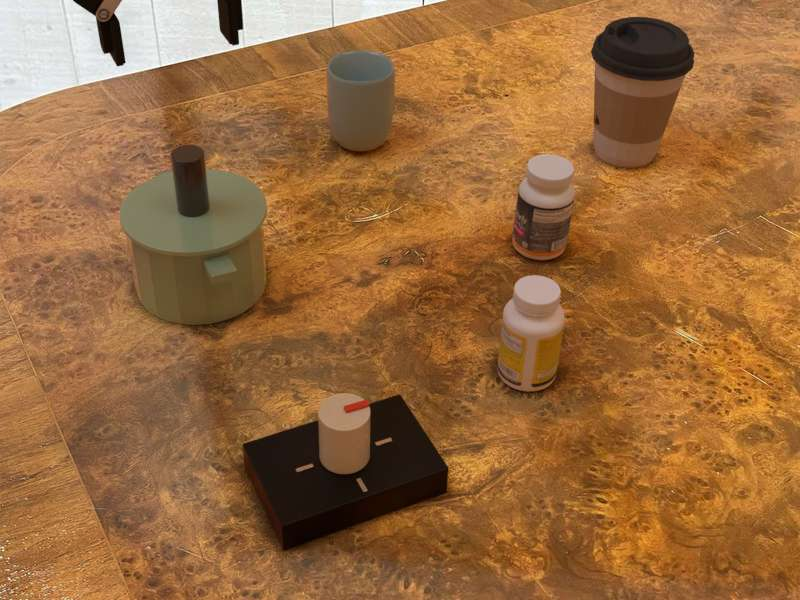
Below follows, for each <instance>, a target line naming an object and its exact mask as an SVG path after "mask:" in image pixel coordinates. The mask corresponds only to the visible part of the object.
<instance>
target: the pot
mask: <svg viewBox="0 0 800 600" xmlns="http://www.w3.org/2000/svg"><path fill="white" fill-rule="evenodd" d="M169 172H173V171H172V169H169V170H165V171H160V172H156V173H155V175H156V176H159V175H162V174H165V173H169ZM125 237H126V241H127V248H128V255H129V260H130V266H131V271H132V277H133V278H132V279H133V283H134V284H133V285H134V289H135V291H136V293H137V296H138V297H137V298H138V300H139V302H140V303H141V305H142V306H143V307H144V308H145V310H147V311H148V312H149V313H150V314H152V315H154V316H155V317H157V318H159V319H162V320H163V321H167V322H170V323H175V324H179V325H190V326H202V325H210V324H211V325H212V324H216V323H221V322H224V321H227V320H230V319H233V318H235V317H237V316H239V315H241V314H243V313H244V312H246V311H248V310H249V309H251V308H252V307H253V306H254V305H255V304H256V303H257V302H258V301H259V300H260V298H261V297H262V295H263V293H264V291H265V289H266V285H267V258H266V245H265V230H264V223H263V224H262V226H261V227H260V229H259V230H258V231H257V232H256V233H255V234H254V235H253V236H251V237H250V238H249V239H247V240H246V241H244V242H243V243H241V244H239V245H237V246H235V247H232V248H230V249H227V250H224V251H221V252H217V253H213V254H208V255H201V256H171V255H164V254H160V253H156V252H152V251H149V250H147V249H145V248H142V247H141V246H139V245H137V244H135V243H134V242H133V241H132V240H130V239H129V238H128V236H127V235H126V234H125Z"/></svg>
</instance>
